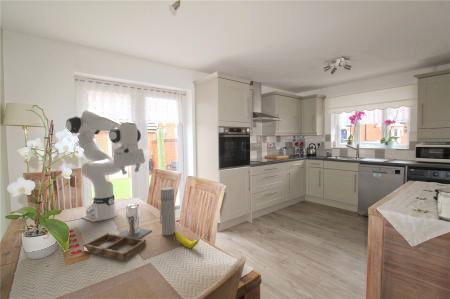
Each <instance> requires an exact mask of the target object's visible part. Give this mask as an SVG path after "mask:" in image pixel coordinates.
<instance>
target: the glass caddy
mask: <svg viewBox="0 0 450 299" xmlns="http://www.w3.org/2000/svg"><path fill="white" fill-rule="evenodd" d="M106 241H111V242H113V243H111V244H109V245H107V246H106V247H100V246H98V245H101V244H102V243H105V242H106ZM146 242H147V241H146V239H143V238H140V239H137V238H131V237H126V236H120V235H118V234H115V233H108V232H107V233H104V234H103V235H101V236H99V237H97V238H95V239H93V240H91V241H88V242H87V243H85V244H83V247H84V246H85V247H86V248H87V250H88V251H89V252H88V253H90V254H95V255H98V256H102V257H103V256H104V257H107V258H111V259H115V260H120V261H124V262H125V261H128V259H131V257H132V256H134V255H136V253H137V254H138V252H139V251H141V250H143V249H144V248H145V247H146V246H147V245H146V244H147V243H146ZM125 244H128V245H133V246H132V247H131V248H129V249H128V250H126V251H119V250H117V249H118V248H120V247H122V246H123V245H125Z"/></svg>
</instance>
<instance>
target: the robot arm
mask: <svg viewBox="0 0 450 299" xmlns="http://www.w3.org/2000/svg"><path fill="white" fill-rule="evenodd" d="M65 126H66V127H65V128H66V130H67V129H68V130H69V131H70V132H71V133H70V132H69V131H68V130H67V131H68V132H69V133H70V134H77V137H78V139H79V141H78V140H77V143H78V146H79V148H80V147H81V148H83V149H84V152H83V151H82V153H83V155H84V157H85V159H87V160H89V161H88V162H84V163H83V164H82V165H81V170H80V171H81V174H82V175H83V176H84V177H85V178H86V179H88V180H89V181H90V182H91V183H92V186H93V190H94V197H92V198H91V199H92V203H91V204H90V205H89V206H87V208H86V210H85V214H83V215H82V217H81V219H84V220H87V221H88V222H89V221H90V222H98V221H99V222H100V221H106V220H109V219H112V218H115V217H116V216H118V210H117V205H116V202H115V194H114V184H113V183H112V182H111V181H109V180H107V179H106V176H110V175H111V176H112V175H115V174H117V173H119V172H120V171H121V172H122V173H121V174H122V175H127V172H128V171H127V170H125V169H126V167H129V166H135V168H134V172H135V173H137V172H139V171H140V166H141V164H142V165H143V164H145V154H144V150H143V149H142V148H139V142H140V140H141V137H142V134H141V132H140V130H139V129H138V127H137V123H135V122H133V121H128V120H127V121H125V120H123V121H121V122H119V121H117V120H115V119H112V118H111V117H109V116H107V115H105V113H102V112H100V111H98V110H95V109H92V108H87V109H85V110H84V111H83V112H82V114H81V116H77V115H76V116H73V117H70V118H68V119H67V120H66V122H65ZM100 132H109V133H108V136H109V140H110V141H111V142H112V143H113V144H118V145H121V146H119V147H117V148H114V150H113V153H114V156H111V155H109V154H108V153H107V152H106V151H105V150H104V149H103V148H102V147H101V145H100V143H99V142H98V139H97V138H96V137H95V135H99V133H100ZM81 148H80V149H81Z"/></svg>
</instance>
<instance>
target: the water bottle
mask: <svg viewBox="0 0 450 299" xmlns="http://www.w3.org/2000/svg"><path fill="white" fill-rule="evenodd" d="M159 200H160V215H159V216H160V217H159V221H160V224H161V230H162V231H161V232H162V233H161V234H162V235H163V236H166V237H167V236H171V235H174V234H175V231H176V213H175V210H176V209H175V192H174V187H173V186H172V187H171V186H167V187H162V188H161V189H160V197H159Z"/></svg>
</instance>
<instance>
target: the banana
mask: <svg viewBox="0 0 450 299" xmlns="http://www.w3.org/2000/svg"><path fill="white" fill-rule="evenodd" d="M174 234H175V236H176V239H177V240H178V241H179V243H181V244H182V245H183V246H185V248H188V249H193V248H195V247H196V246H197V245H198V244H199V241H200V239H196V240H194V241H192V240H189V239H188V238H186V237H185V236H183V235H182V234H181V233H179V232H178V231H176V230H175V233H174Z"/></svg>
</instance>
